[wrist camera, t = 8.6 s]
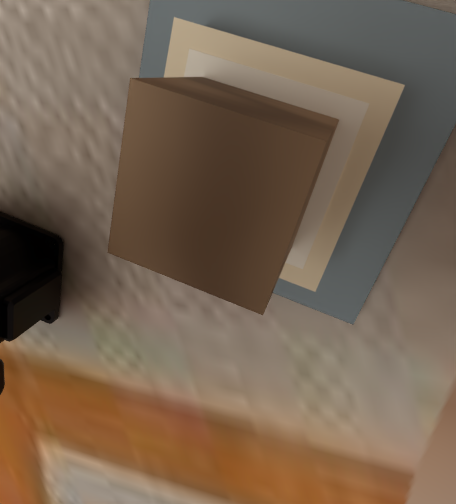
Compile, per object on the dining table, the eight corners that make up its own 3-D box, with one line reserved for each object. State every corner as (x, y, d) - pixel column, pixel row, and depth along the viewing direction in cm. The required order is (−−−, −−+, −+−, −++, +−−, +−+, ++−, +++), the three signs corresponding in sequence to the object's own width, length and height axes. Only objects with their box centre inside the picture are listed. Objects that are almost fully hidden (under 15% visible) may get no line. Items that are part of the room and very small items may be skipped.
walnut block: (175, 205, 17) (107, 252, 12) (202, 76, 14) (130, 78, 10) (291, 248, 16) (263, 315, 11) (339, 119, 13) (326, 141, 9)
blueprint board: (126, 225, 23) (82, 252, 19) (170, -56, 17) (117, -92, 13) (353, 313, 20) (351, 363, 17) (496, 29, 14) (538, 16, 11)
